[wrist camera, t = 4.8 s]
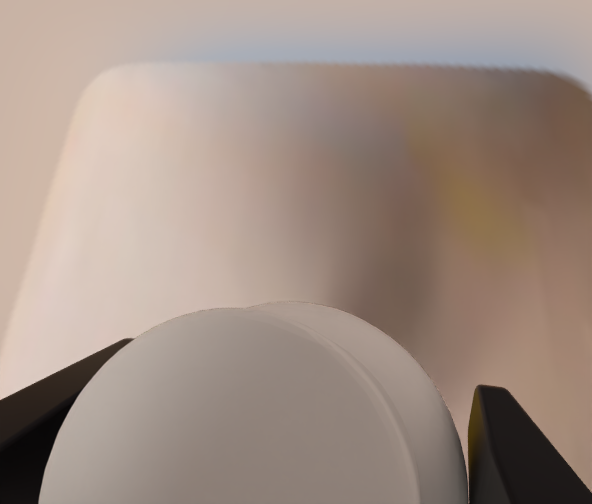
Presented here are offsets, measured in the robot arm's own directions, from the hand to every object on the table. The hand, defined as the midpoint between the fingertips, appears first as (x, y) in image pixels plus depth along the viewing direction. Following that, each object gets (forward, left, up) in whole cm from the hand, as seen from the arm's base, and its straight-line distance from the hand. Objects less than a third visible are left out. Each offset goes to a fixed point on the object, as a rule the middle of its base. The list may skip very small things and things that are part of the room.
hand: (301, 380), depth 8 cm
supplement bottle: (-1, -1, -7) cm, 7 cm away
